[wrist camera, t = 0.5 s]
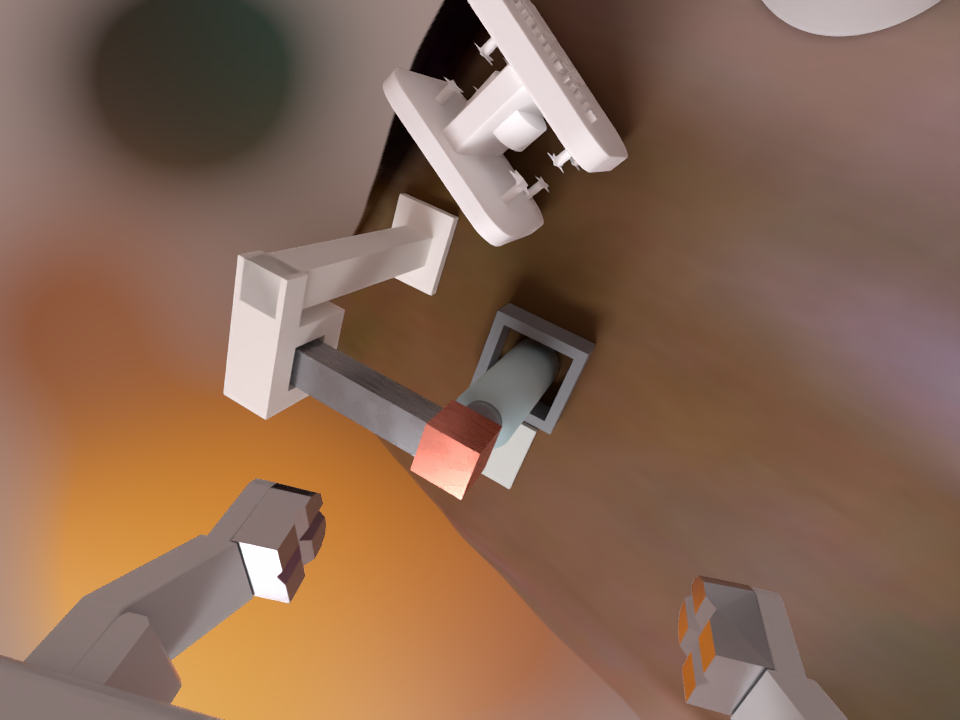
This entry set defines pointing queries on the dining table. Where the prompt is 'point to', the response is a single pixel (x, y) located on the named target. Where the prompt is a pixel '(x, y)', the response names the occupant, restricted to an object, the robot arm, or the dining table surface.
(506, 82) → the cable organizer
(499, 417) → the pale blue bottle
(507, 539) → the dining table surface
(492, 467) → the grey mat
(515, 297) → the dining table surface
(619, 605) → the dining table surface
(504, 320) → the socket collar
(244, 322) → the stand
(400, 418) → the bolt
